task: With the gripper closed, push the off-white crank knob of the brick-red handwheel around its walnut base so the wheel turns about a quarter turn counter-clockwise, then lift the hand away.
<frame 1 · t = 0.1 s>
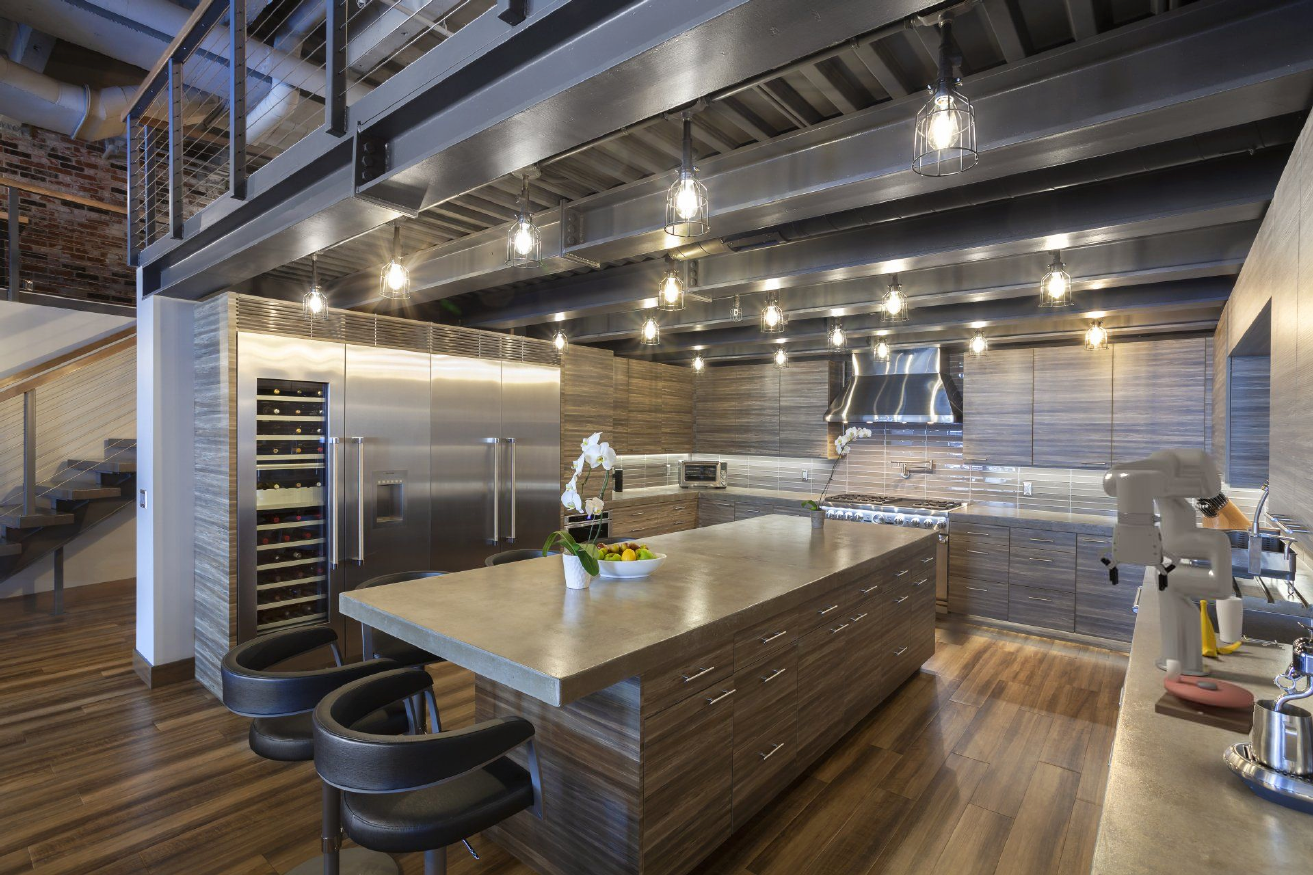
hand: (1138, 587, 159), 31 cm above the countertop, tool pointing down, fingers open, 9 cm apart
wheel base: (1208, 711, 157), on the countertop
banana peel: (1206, 654, 201), on the countertop
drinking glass: (1230, 642, 212), on the countertop
handwheel: (1206, 680, 157), point 8 cm above the countertop, hinge at 0.0°
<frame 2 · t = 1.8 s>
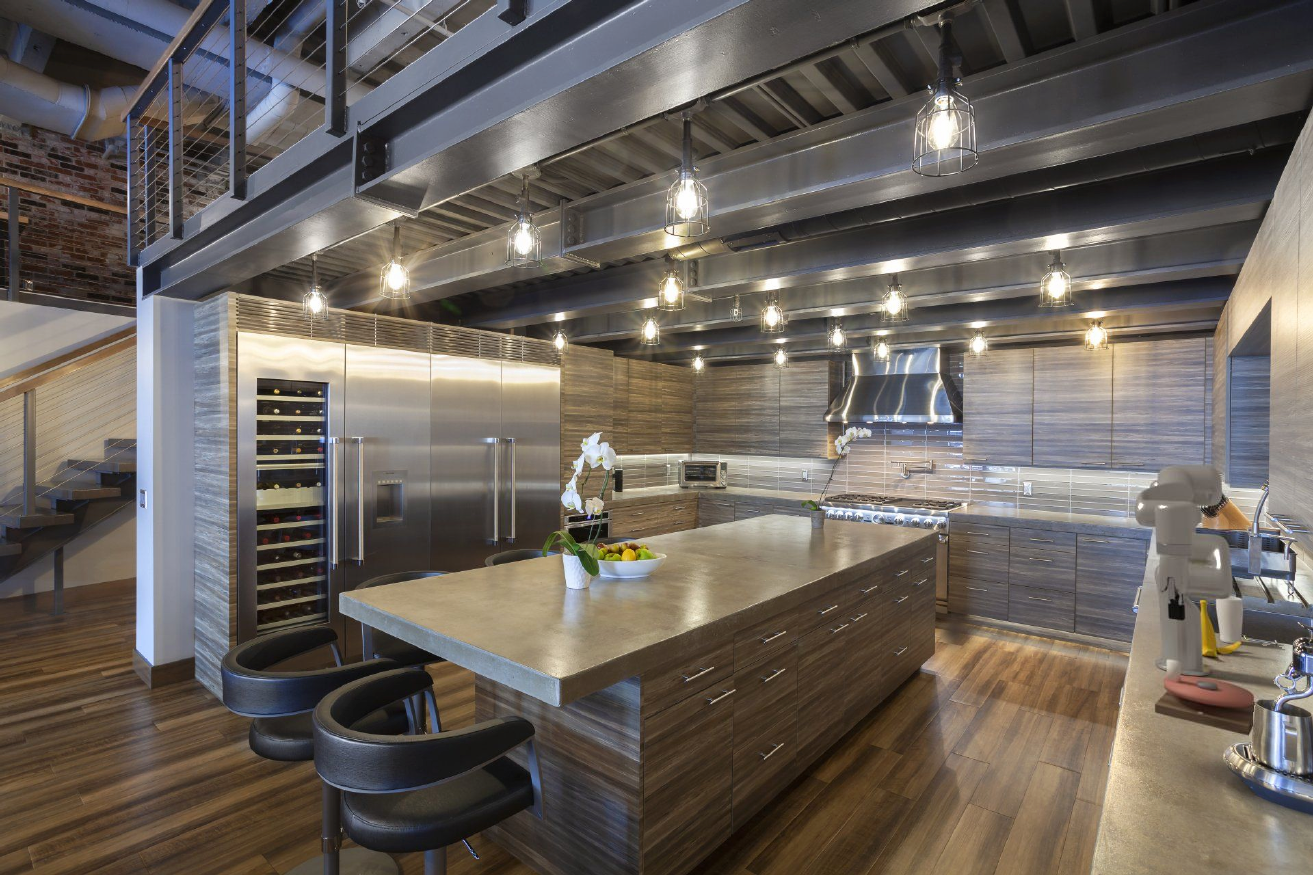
hand: (1176, 618, 166), 21 cm above the countertop, tool pointing down, fingers closed
nothing on the countertop moved.
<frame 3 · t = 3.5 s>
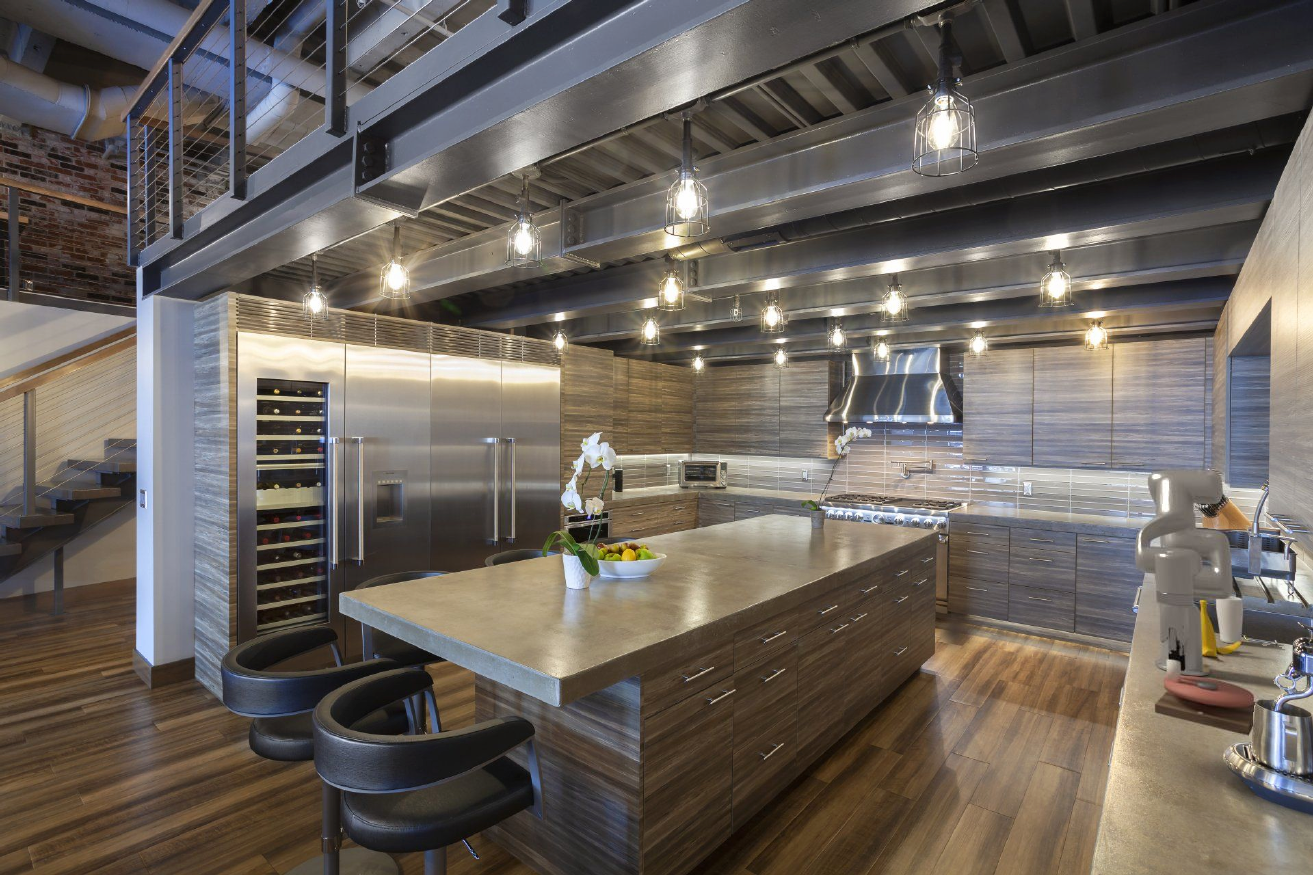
hand: (1177, 668, 164), 8 cm above the countertop, tool pointing down, fingers closed
handwheel: (1206, 680, 157), point 8 cm above the countertop, hinge at 0.0°, touching gripper
everything else where it was.
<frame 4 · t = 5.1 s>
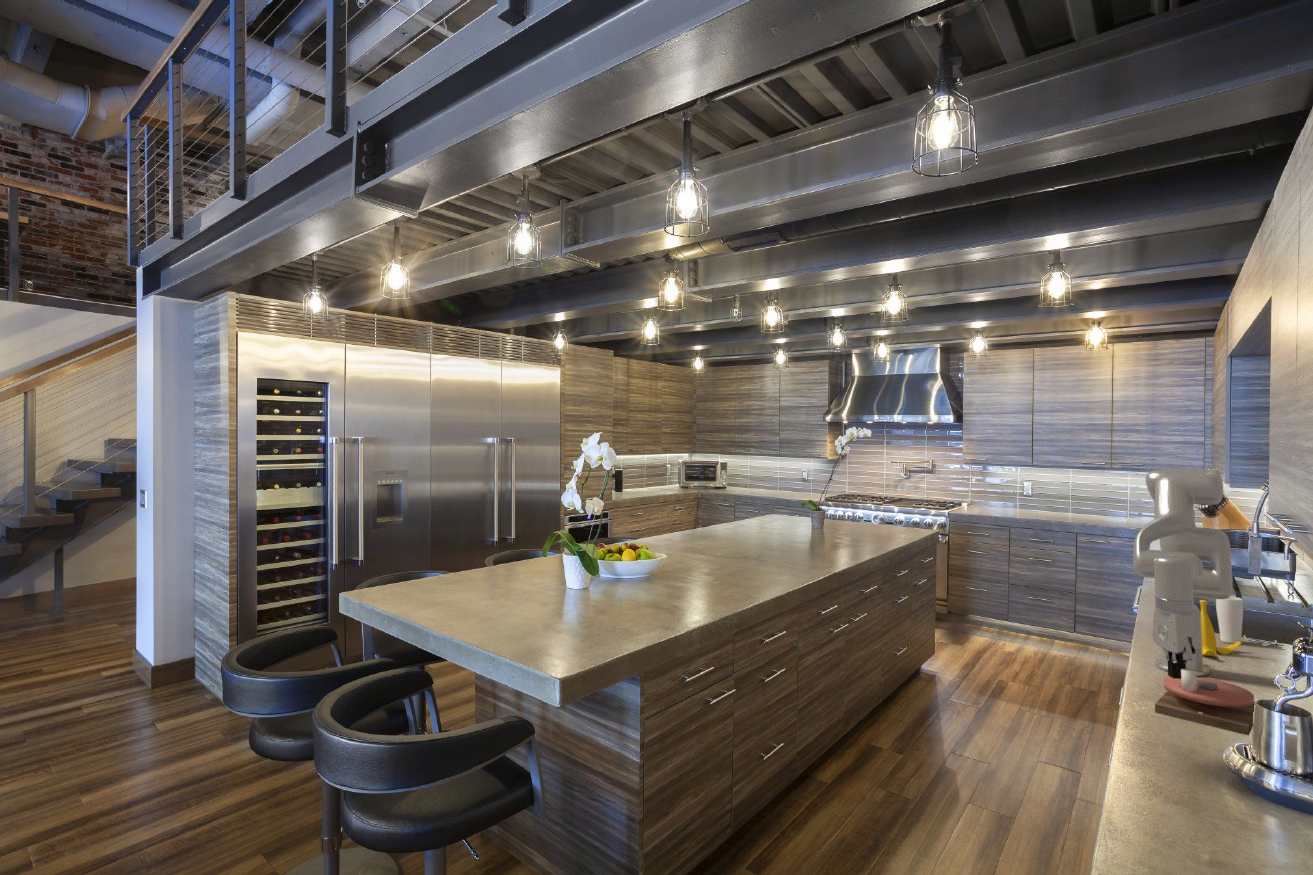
hand: (1177, 677, 159), 8 cm above the countertop, tool pointing down, fingers closed
handwheel: (1206, 680, 157), point 8 cm above the countertop, hinge at 67.5°, touching gripper
everything else where it was.
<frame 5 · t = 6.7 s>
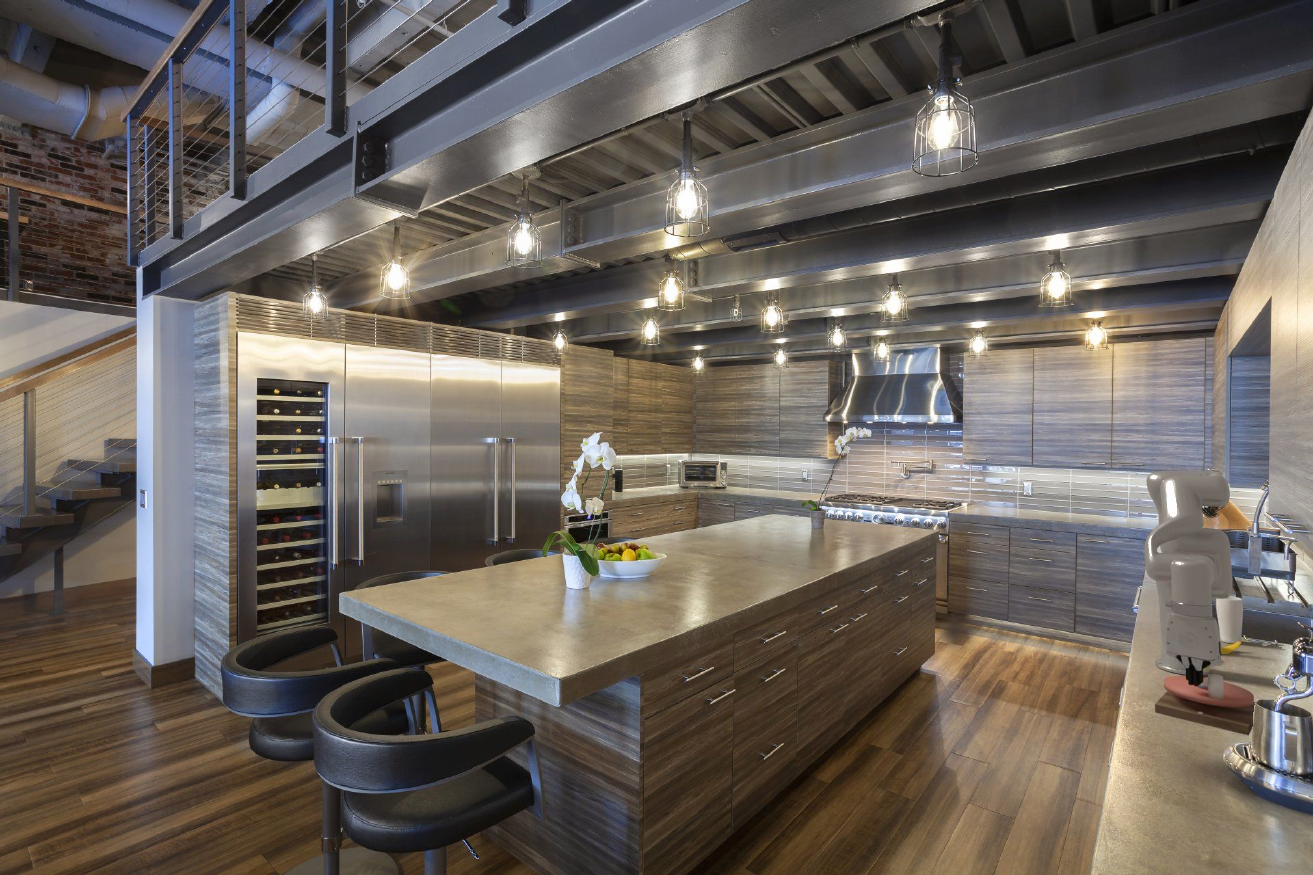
hand: (1194, 684, 154), 8 cm above the countertop, tool pointing down, fingers closed
handwheel: (1206, 680, 157), point 8 cm above the countertop, hinge at 113.1°
everything else where it was.
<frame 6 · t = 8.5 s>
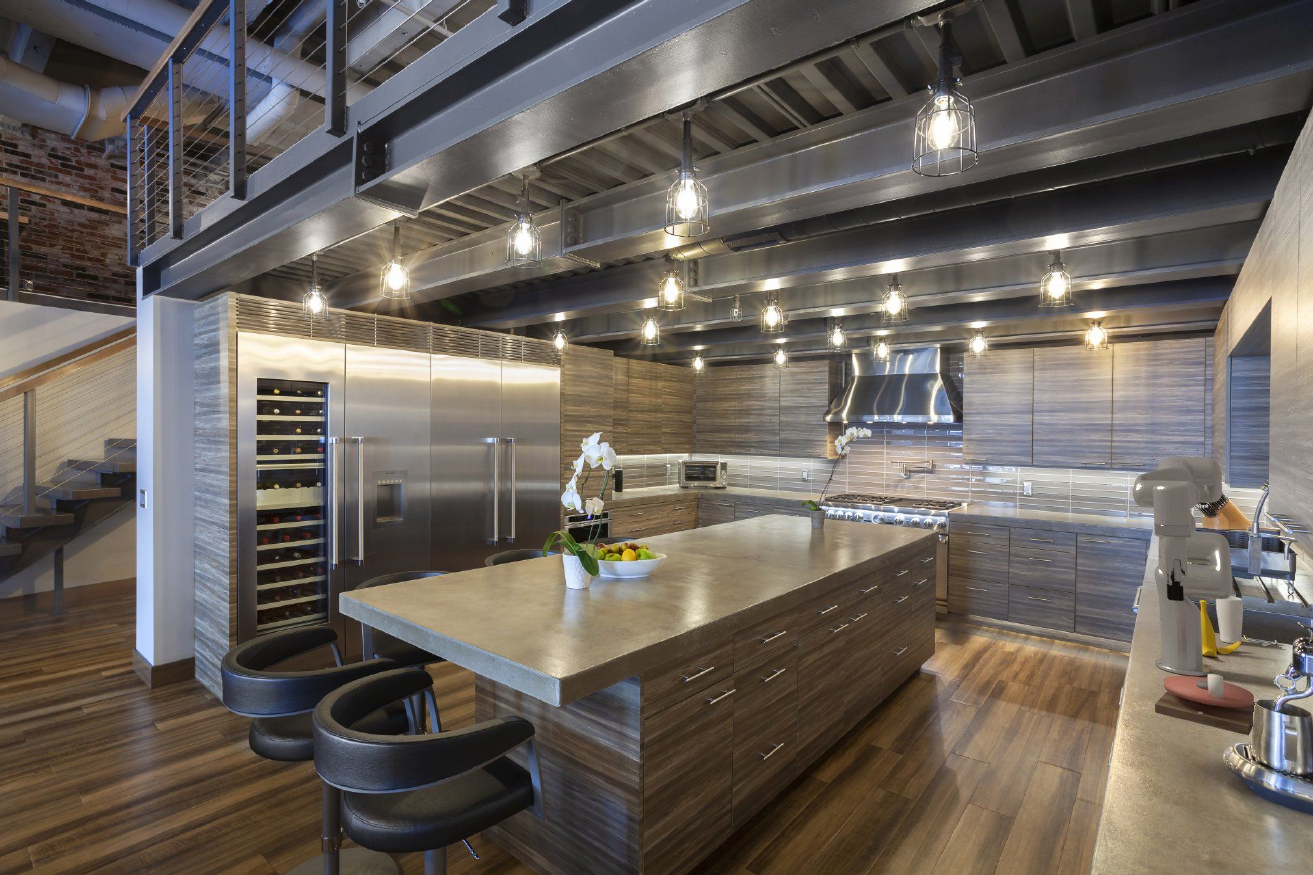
hand: (1175, 599, 165), 26 cm above the countertop, tool pointing down, fingers closed
nothing on the countertop moved.
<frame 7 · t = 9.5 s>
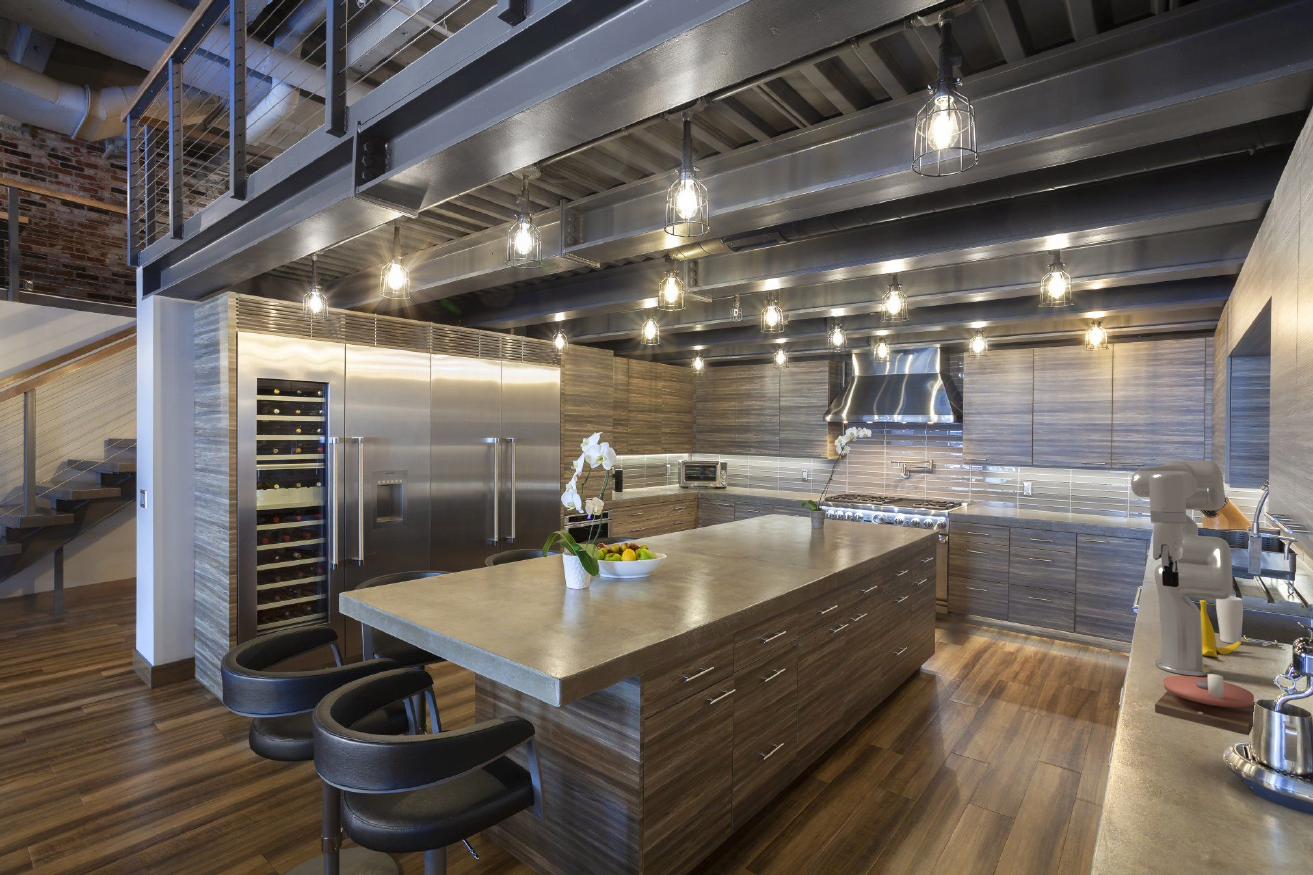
hand: (1170, 585, 169), 29 cm above the countertop, tool pointing down, fingers closed
nothing on the countertop moved.
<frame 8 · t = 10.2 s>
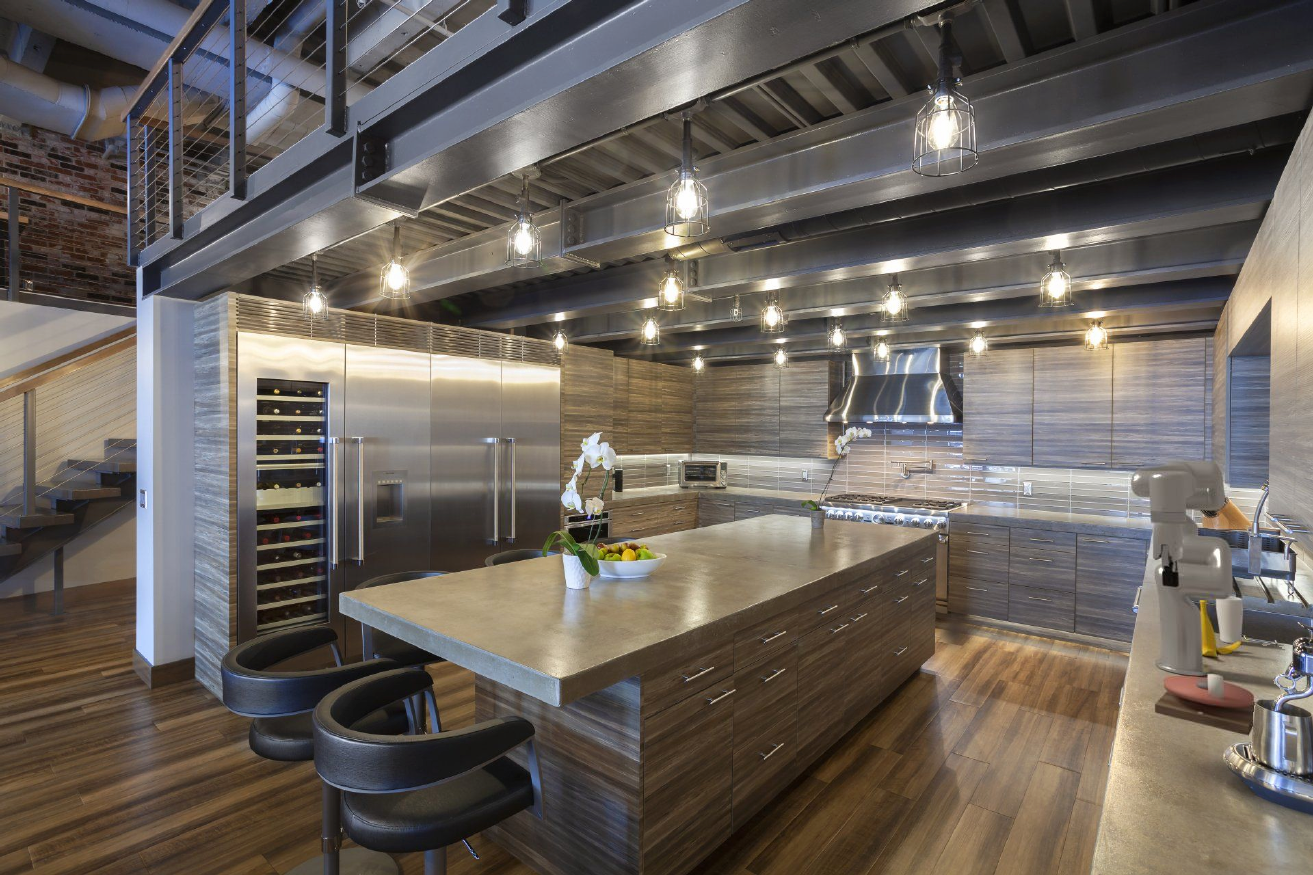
hand: (1170, 585, 169), 29 cm above the countertop, tool pointing down, fingers closed
nothing on the countertop moved.
at the end: handwheel at +113° (first picture: +0°) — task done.
